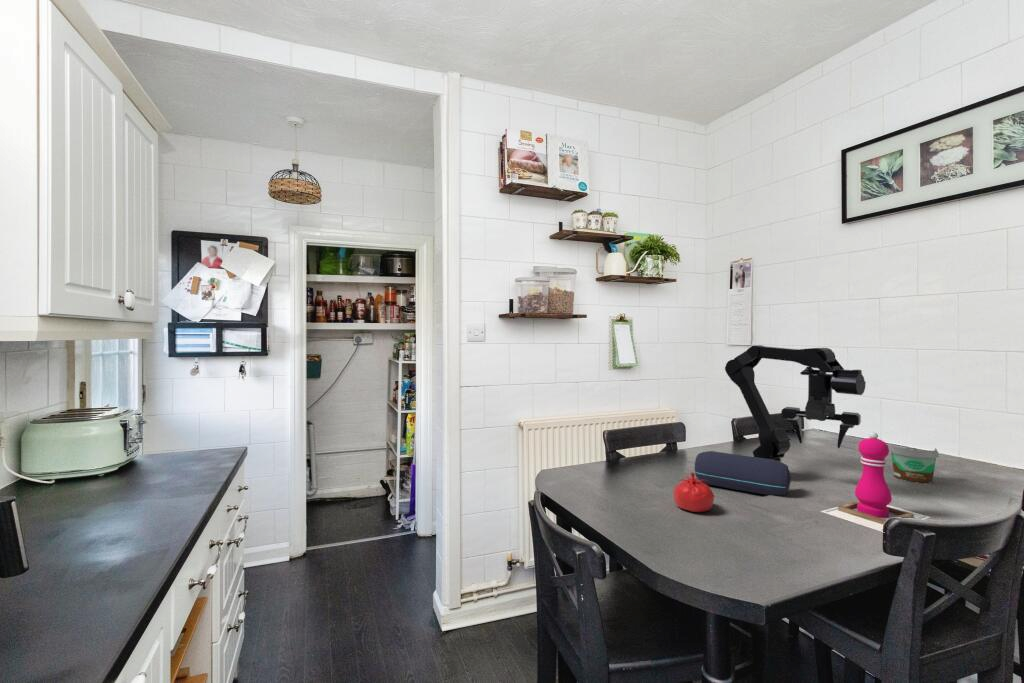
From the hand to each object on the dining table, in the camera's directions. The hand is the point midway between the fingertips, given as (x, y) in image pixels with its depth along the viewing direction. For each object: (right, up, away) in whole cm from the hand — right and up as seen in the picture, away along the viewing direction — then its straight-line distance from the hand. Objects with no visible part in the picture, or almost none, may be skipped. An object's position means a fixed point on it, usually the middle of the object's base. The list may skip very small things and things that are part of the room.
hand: (819, 445), depth 137 cm
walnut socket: (0, -12, -21) cm, 24 cm away
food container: (+36, -13, +9) cm, 39 cm away
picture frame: (0, -13, -21) cm, 25 cm away
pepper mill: (0, -12, -20) cm, 24 cm away
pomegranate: (-42, -14, -14) cm, 46 cm away
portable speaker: (-22, -13, +1) cm, 26 cm away
